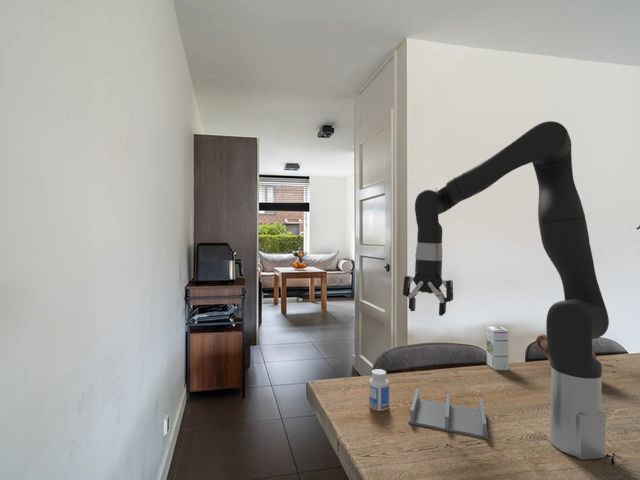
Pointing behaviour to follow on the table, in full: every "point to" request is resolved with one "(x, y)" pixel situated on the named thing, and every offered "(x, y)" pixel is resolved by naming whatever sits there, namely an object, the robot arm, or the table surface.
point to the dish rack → (449, 416)
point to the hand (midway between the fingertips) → (426, 313)
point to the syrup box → (497, 348)
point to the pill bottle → (379, 390)
